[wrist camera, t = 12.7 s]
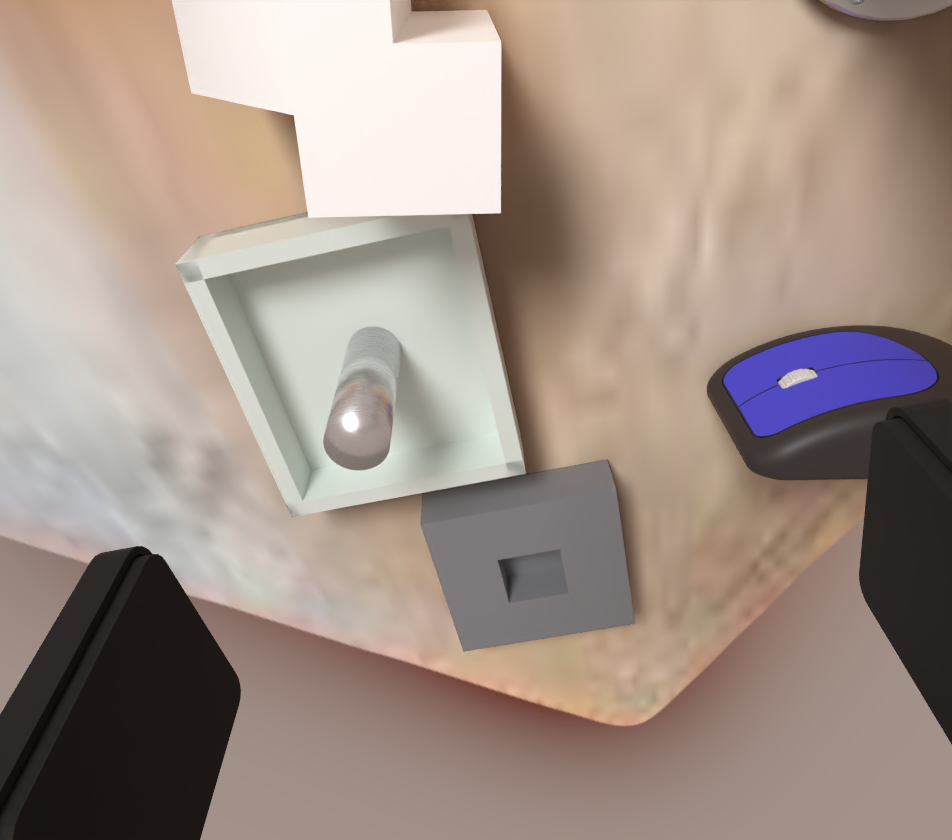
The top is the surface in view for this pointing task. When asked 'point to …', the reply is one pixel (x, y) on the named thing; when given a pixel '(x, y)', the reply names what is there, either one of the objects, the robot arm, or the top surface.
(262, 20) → the corner bracket
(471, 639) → the grey square hole plate
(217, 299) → the parts tray
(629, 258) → the top surface
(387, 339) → the pin
